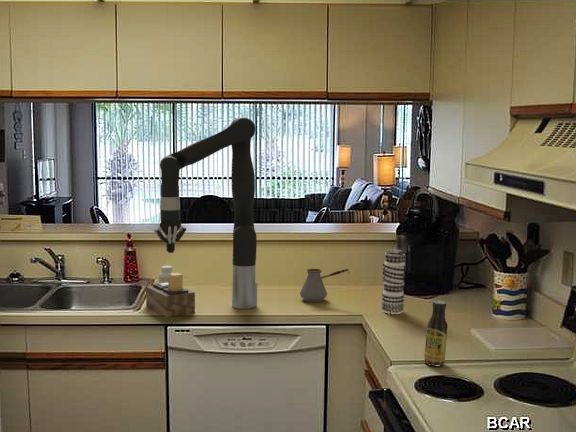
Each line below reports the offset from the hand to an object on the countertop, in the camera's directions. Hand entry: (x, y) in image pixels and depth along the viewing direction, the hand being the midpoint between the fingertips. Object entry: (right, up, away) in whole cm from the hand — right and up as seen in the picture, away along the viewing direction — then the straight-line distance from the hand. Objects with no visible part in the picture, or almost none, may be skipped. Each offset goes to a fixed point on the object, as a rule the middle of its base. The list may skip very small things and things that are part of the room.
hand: (170, 252), depth 259 cm
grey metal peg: (-3, -21, +6) cm, 22 cm away
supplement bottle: (-5, -20, +23) cm, 31 cm away
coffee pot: (+61, -22, +21) cm, 68 cm away
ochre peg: (+2, -16, -2) cm, 16 cm away
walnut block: (-1, -22, +3) cm, 23 cm away
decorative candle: (+87, -24, +7) cm, 91 cm away
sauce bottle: (+91, -32, -52) cm, 110 cm away
